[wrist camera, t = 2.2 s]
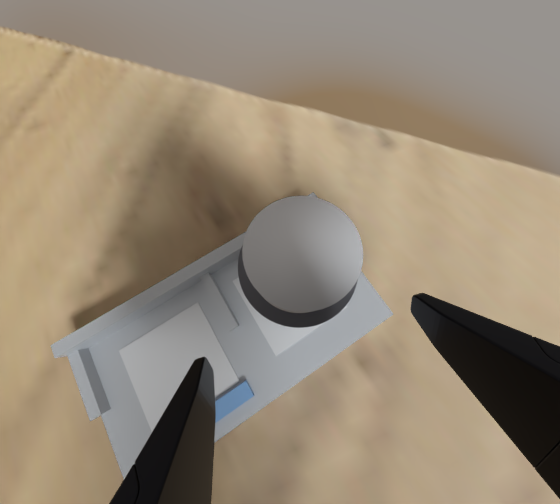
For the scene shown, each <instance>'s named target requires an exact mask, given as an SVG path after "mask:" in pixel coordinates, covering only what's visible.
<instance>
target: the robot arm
mask: <svg viewBox="0 0 560 504" xmlns="http://www.w3.org/2000/svg"><path fill="white" fill-rule="evenodd" d="M411 312H412V314H413V316H414V317H415V319H416V320H417V322H418V323H419V325H420V326H421V328H422V329H423V331H424V332H425V334H426V335H427V337H428V338H429V340H430V341H431V343H432V344H433V345H434V347H435V348H436V349H437V350H438V352H439V353H440V354H441V355H442V357H443V358H444V359H445V360H446V361H447V363H448V364H449V365H450V366H451V367H452V369H453V370H454V371H455V372H456V374H457V375H458V376H459V377H460V378H461V380H462V381H463V382H464V383H465V384H466V386H467V387H468V388H469V389H470V390H471V392H472V393H473V394H474V395H475V397H476V398H477V399H478V400H479V401H480V403H481V404H482V405H483V406H484V407H485V409H486V410H487V411H488V412H489V414H490V415H491V416H492V417H493V418H494V420H495V421H496V422H497V423H498V424H499V426H500V427H501V428H502V429H503V430H504V432H505V433H506V434H507V435H508V437H509V438H510V439H511V440H512V441H513V443H514V444H515V445H516V446H517V447H518V449H519V450H520V451H521V452H522V454H523V455H524V456H525V457H526V458H527V460H528V461H529V462H530V463H531V464H532V466H533V467H535V470H536V471H537V472H538V473H539V474H540V476H541V477H542V478H543V479H544V480H545V482H546V483H547V484H548V485H549V487H550V488H551V489H552V490H553V491H554V493H555V494H556V495H557V496H558V497H559V499H560V346H557V345H554V344H552V343H549V342H546V341H544V340H541V339H539V338H536V337H532V336H531V335H529V334H526V333H524V332H521V331H518V330H516V329H513V328H511V327H508V326H506V325H503V324H501V323H498V322H496V321H493V320H491V319H488V318H486V317H483V316H480V315H478V314H475V313H473V312H470V311H468V310H465V309H463V308H460V307H458V306H455V305H453V304H450V303H447V302H445V301H442V300H440V299H437V298H435V297H432V296H430V295H427V294H425V293H419V294H416V295H413V297H412V302H411ZM215 419H216V409H215V389H214V372H213V368H212V366H211V365H210V363H209V361H208V359H207V358H206V357H201V358H198V359H195V360H194V362H193V363H192V365H191V367H190V368H189V370H188V372H187V374H186V375H185V377H184V379H183V380H182V382H181V384H180V385H179V387H178V389H177V391H176V392H175V394H174V396H173V397H172V399H171V401H170V402H169V404H168V406H167V408H166V409H165V411H164V413H163V414H162V416H161V418H160V419H159V421H158V423H157V425H156V426H155V428H154V430H153V431H152V433H151V435H150V437H149V438H148V440H147V442H146V443H145V445H144V447H143V448H142V450H141V452H140V454H139V455H138V457H137V459H136V460H135V464H133V465H132V467H131V469H130V470H129V472H128V474H127V475H126V477H125V479H124V480H123V482H122V484H121V485H120V487H119V489H118V490H117V492H116V494H115V495H114V497H113V499H112V500H111V502H110V503H109V504H211V495H212V476H213V457H214V438H215Z"/></svg>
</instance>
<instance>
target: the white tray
mask: <svg viewBox="0 0 560 504" xmlns="http://www.w3.org/2000/svg"><path fill="white" fill-rule="evenodd" d="M308 196H311V197H316V198H318V197H317V196H316V195H315V193H314V192H313V193H311V194H309V195H308ZM245 234H246V232H244V233H243V234H241V235H239V236H237V237H236V238H234V239H232V240H231V241H229V242H227V243H225V244H224V245H222V246H220V247H219V248H217V249H215V250H213V251H212V252H210V253H208V254H207V255H205V256H203V257H201V258H200V259H198V260H196V261H195V262H193V263H191V264H189V265H188V266H186V267H184V268H183V269H181V270H179V271H177V272H176V273H174V274H172V275H171V276H169V277H167V278H165V279H164V280H162V281H160V282H159V283H157V284H155V285H153V286H152V287H150V288H148V289H147V290H145V291H143V292H141V293H140V294H138V295H136V296H135V297H133V298H131V299H129V300H128V301H126V302H124V303H123V304H121V305H119V306H117V307H116V308H114V309H112V310H111V311H109V312H107V313H105V314H104V315H102V316H100V317H99V318H97V319H95V320H93V321H92V322H90V323H88V324H87V325H85V326H83V327H81V328H80V329H78V330H76V331H75V332H73V333H71V334H69V335H68V336H66V337H64V338H63V339H61V340H59V341H57V342H56V343H54V344H52V345H51V348H52V351H53V354H54V357H55V358H59V357H65V356H68V359H69V362H70V365H71V368H72V371H73V374H74V376H75V379H76V382H77V385H78V388H79V391H80V394H81V397H82V399H83V402H84V405H85V408H86V411H87V414H88V417H89V420H90V421H92V420H94V419H96V418H97V417H99V416H101V417H102V420H103V423H104V426H105V428H106V431H107V434H108V437H109V439H110V442H111V445H112V448H113V451H114V453H115V456H116V459H117V462H118V464H119V467H120V470H121V473H122V476H123V478H124V479H125V477H126V475H127V474H128V472H129V470H130V469H131V467H132V465H133V464H135V460H136V459H137V457H138V455H139V454H140V452H141V450H142V448H143V447H144V445H145V443H146V442H147V440H148V438H149V437H150V435H151V433H152V431H153V430H154V428H155V426H156V425H157V423H158V421H159V419H160V418H161V416H162V414H163V413H164V411H165V409H166V408H167V406H168V404H169V402H170V401H171V399H172V397H173V396H174V394H175V392H176V391H177V389H178V387H179V385H180V384H181V382H182V380H183V379H184V377H185V375H186V374H187V372H188V370H189V368H190V367H191V365H192V363H193V362H194V360H195V359H198V358H201V357H206V358H207V359H208V361H209V363H210V365H211V366H212V368H213V372H214V389H215V409H216V419H215V438H214V443H215V442H216V441H217V440H219V439H220V438H222V437H223V436H224V435H226V434H227V433H229V432H230V431H231V430H233V429H234V428H236V427H237V426H238V425H240V424H241V423H243V422H244V421H245V420H247V419H248V418H250V417H251V416H252V415H254V414H255V413H256V412H258V411H259V410H261V409H262V408H263V407H265V406H266V405H268V404H269V403H270V402H272V401H273V400H275V399H276V398H277V397H279V396H280V395H282V394H283V393H284V392H286V391H287V390H289V389H290V388H291V387H293V386H294V385H295V384H297V383H298V382H300V381H301V380H302V379H304V378H305V377H307V376H308V375H309V374H311V373H312V372H314V371H315V370H316V369H318V368H319V367H321V366H322V365H323V364H325V363H326V362H328V361H329V360H330V359H332V358H333V357H335V356H336V355H337V354H339V353H340V352H341V351H343V350H344V349H346V348H347V347H348V346H350V345H351V344H353V343H354V342H355V341H357V340H358V339H360V338H361V337H362V336H364V335H365V334H367V333H368V332H369V331H371V330H372V329H374V328H375V327H376V326H378V325H379V324H381V323H382V322H383V321H385V320H386V319H387V318H389V317H390V316H392V315H393V313H392V312H391V310H390V309H389V307H388V306H387V305H386V303H385V302H384V301H383V299H382V298H381V297H380V295H379V294H378V293H377V291H376V290H375V289H374V287H373V286H372V285H371V283H370V282H369V281H368V279H367V278H366V277H365V275H364V274H363V273H362V271H361V272H360V275H359V277H358V280H357V285H356V288H355V291H354V293H353V295H352V297H351V299H350V301H349V302H348V304H347V305H346V306H345V307H344V308H343V310H342V311H341V312H340V313H338V314H337V315H336V316H334V317H333V318H332V319H330V320H328V321H326V322H324V323H322V324H319V325H316V326H312V327H304V328H293V327H287V326H283V325H280V324H277V323H274V322H272V321H270V320H268V319H267V318H265V317H264V316H262V315H261V314H260V313H259V312H257V311H256V310H255V309H254V308H253V306H252V305H251V304H250V303H249V301H248V300H247V298H246V297H245V295H244V293H243V291H242V288H241V285H240V282H239V276H238V258H239V254H240V250H241V247H242V245H243V241H244V237H245Z"/></svg>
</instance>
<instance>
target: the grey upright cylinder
mask: <svg viewBox="0 0 560 504" xmlns="http://www.w3.org/2000/svg"><path fill="white" fill-rule="evenodd" d="M362 264H363V247H362V242H361V238H360V235H359V233H358V231H357V229H356V227H355V225H354V224H353V222H352V221H351V219H350V218H349V217H348V216H347V215H346V214H345V213H344V212H343V211H342V210H341V209H339V208H338V207H336V206H335V205H333V204H331V203H330V202H328V201H325V200H323V199H320V198H316V197H311V196H291V197H286V198H283V199H280V200H277V201H275V202H273V203H271V204H270V205H268V206H266V207H265V208H264V209H263V210H261V211H260V212H259V213H258V214H257V215H256V216H255V218H254V219H253V220H252V222H251V223H250V225H249V227H248V229H247V231H246V234H245V237H244V241H243V245H242V247H241V250H240V254H239V258H238V276H239V282H240V285H241V288H242V291H243V293H244V295H245V297H246V298H247V300H248V301H249V303H250V304H251V305H252V306H253V308H254V309H255V310H256V311H257V312H259V313H260V314H261V315H262V316H264V317H265V318H267V319H268V320H270V321H272V322H274V323H277V324H280V325H283V326H287V327H293V328H304V327H312V326H316V325H319V324H322V323H324V322H326V321H328V320H330V319H332V318H333V317H334V316H336V315H337V314H338V313H340V312H341V311H342V310H343V308H344V307H345V306H346V305H347V304H348V302H349V301H350V299H351V297H352V295H353V293H354V291H355V288H356V285H357V280H358V277H359V275H360V272H361V268H362Z"/></svg>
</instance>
